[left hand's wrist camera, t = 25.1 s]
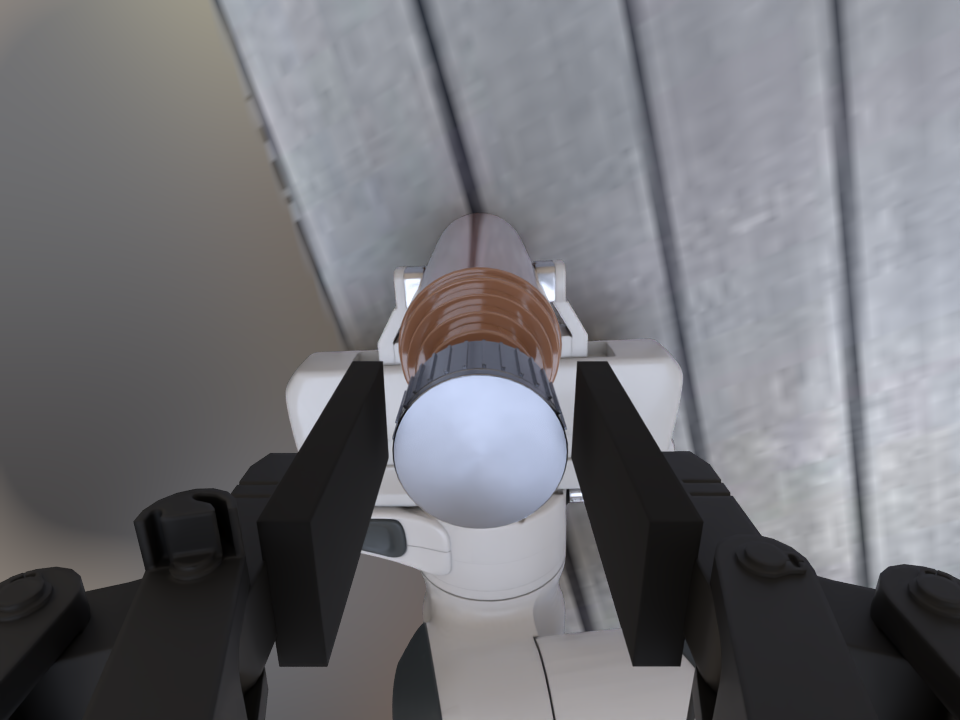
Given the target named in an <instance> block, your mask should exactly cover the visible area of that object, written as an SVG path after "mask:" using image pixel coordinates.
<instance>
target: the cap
mask: <svg viewBox="0 0 960 720" xmlns="http://www.w3.org/2000/svg"><path fill="white" fill-rule="evenodd" d="M395 423H396V427H395V430H394V433H393V437H392V440H393V447H392V453H393V463H394V468H395V471H396V474H397V477H398V480H399V481H400V483H401V485H402V487H403V489H404V490H405V492H406V493H407V494H408V496H409V497H410V498H411V499H412V500H413V501H414V503H415V504H416V505H418V506H419V507H420V508H421V509H422V510H424V511H425V512H427V513H428V514H430V515H431V516H433V517H435V518H437V519H439V520H441V521H443V522H446V523H449V524H451V525H455V526H459V527H464V528H473V529H487V528H496V527H501V526H506V525H509V524H512V523H515V522H517V521H520V520H522V519H524V518H526V517H528V516H529V515H531V514H532V513H534V512H536V511H537V510H538V509H539V508H540V507H542V506H543V505H544V504H545V503H546V502H547V501H548V500H549V499H550V498H551V496H552V495H553V494H554V492H555V491H556V490H557V488H558V486H559V484H560V482H561V480H562V478H563V475H564V473H565V470H566V465H567V461H568V441H567V437H566V432H565V430H567V426H566V423H565V420H564V417H563V414H562V410H561V407H560V404H559V401H558V397H557V395H556V392H555V389H554V385H553V383H552V382H549V380H548V378H547V376H546V372H545V370H544V368H542V369H541V368H540V367H539V366H538V365H537V364H536V363H535V362H534V359H533V357H528V356H527V355H526V354H524V353H522V352H521V351H520V350H519V348H517V347H516V349H515V348H513V347H510V346H508V345H505V344H503V342H499V343H497V342H491V341H486V340H484V339H482V341H470V342H468V340H466V341H464V342H463V343H459V344H455V345H453V346H451V345H448V347H447V348H445V349H443V350H442V351H440V352H438V353H433V354H432V357H431V358H429V359H428V360H427V361H426V362H425V363H424V364H423V363H421V364H420V366H419V370H418V371H417V372H416V374H415V375H414V377H413V376H411V378H410V381H409V384H408V387H407V391H406V390H405V392H404V395H403V398H402V401H401V404H400V408H399V411H398V414H397V417H396V421H395Z"/></svg>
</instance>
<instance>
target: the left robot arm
mask: <svg viewBox="0 0 960 720" xmlns="http://www.w3.org/2000/svg"><path fill="white" fill-rule="evenodd" d="M388 459H389V450H388V434H387V418H386V402H385V386H384V370H383V361H352V363H351V365H350V366H349V368H348V370H347V371H346V373H345V375H344V376H343V378H342V380H341V381H340V383H339V385H338V386H337V388H336V390H335V391H334V393H333V395H332V396H331V398H330V400H329V401H328V403H327V405H326V406H325V408H324V410H323V411H322V413H321V415H320V416H319V418H318V420H317V421H316V423H315V425H314V426H313V428H312V430H311V431H310V433H309V435H308V436H307V438H306V440H305V441H304V443H303V445H302V446H301V448H300V450H299V451H298V453H270V454H268V455H267V456H265V457H264V458H262V459H261V460H259V461H258V462H256V463H255V464H253V465H252V466H251V467H250V468H249V469H248V471H247V472H246V473H245V475H244V476H243V478H242V479H241V480H240V482H239V485H237V486H236V487H235V489H234V490H233V492H232V493H231V494H230V493H229V492H227V491H223V490H218V489H214V488H209V489H193V490H189V491H184V492H180V493H176V494H173V495H171V496H168V497H166V498H163V499H161V500H158V501H157V502H155V503H154V504H152V505H150V506H149V507H147V508H146V509H144V510H143V511H142V512H141V513H140V514H139V516H138V517H137V518H136V519H135V520H134V526H135V530H136V534H137V538H138V542H139V546H140V550H141V554H142V558H143V562H144V566H145V570H146V571H145V573H144V576H143V578H142V579H139V580H136V581H132V582H129V583H124V584H119V585H114V586H110V587H105V588H101V589H96V590H91V591H86V592H85V590H84V586H83V583H82V580H81V576H80V575H79V574H77V573H76V572H75V571H74V570H72V569H68V568H61V567H50V568H42V569H35V570H32V571H27V572H26V573H21V574H18V575H15V576H12V577H10V578H9V579H7V580H5V581H3V582H1V583H0V720H265V715H266V705H267V696H268V684H267V678H266V672H265V664H266V661H267V659H268V657H269V654H270V652H271V649H272V647H273V645H274V642H276V648H277V654H278V661H279V666H280V667H327V666H328V663H329V659H330V656H331V652H332V649H333V646H334V642H335V639H336V635H337V632H338V629H339V625H340V622H341V618H342V615H343V612H344V608H345V605H346V601H347V598H348V595H349V591H350V588H351V584H352V581H353V578H354V574H355V571H356V568H357V564H358V560H359V557H360V554H361V551H362V547H363V544H364V540H365V537H366V534H367V530H368V527H369V523H370V520H371V517H372V513H373V510H374V507H375V503H376V500H377V496H378V493H379V490H380V486H381V483H382V479H383V476H384V473H385V469H386V466H387V462H388ZM571 459H572V462H573V466H574V469H575V473H576V476H577V479H578V483H579V486H580V490H581V493H582V496H583V500H584V503H585V507H586V510H587V513H588V517H589V520H590V523H591V527H592V530H593V534H594V537H595V540H596V544H597V547H598V551H599V554H600V557H601V561H602V564H603V568H604V571H605V574H606V578H607V581H608V585H609V588H610V591H611V595H612V598H613V601H614V605H615V608H616V612H617V615H618V618H619V622H620V625H621V629H622V632H623V635H624V639H625V642H626V646H627V649H628V652H629V656H630V659H631V663H632V666H633V667H681V661H682V654H683V648H684V642H685V639H686V642H687V644H688V647H689V649H690V651H691V654H692V656H693V659H694V661H695V663H696V666H695V672H694V677H693V683H692V689H691V695H690V701H689V707H688V712H687V719H686V720H960V580H959V579H957V578H955V577H953V576H951V575H950V574H947V573H945V572H942V571H939V570H938V571H937V570H935V569H932V568H927V567H923V566H915V565H906V564H903V565H896V566H889V567H888V568H886V569H885V570H884V571H883V572H882V573H880V576H879V579H878V583H877V586H876V589H872V588H867V587H862V586H857V585H853V584H848V583H843V582H839V581H834V580H830V579H826V578H823V577H819V576H817V575H816V572H815V570H814V569H813V567H812V566H811V565H810V563H809V562H808V560H807V559H806V558H805V557H804V556H802V555H801V554H800V553H798V552H797V551H796V550H794V549H793V548H792V547H790V546H788V545H786V544H783V543H781V542H779V541H777V540H775V539H772V538H768V537H764V536H761V534H760V533H759V532H758V530H757V529H756V527H755V526H754V525H753V523H752V522H751V521H750V519H749V518H748V516H747V515H746V514H745V512H744V511H743V510H742V508H741V507H740V505H739V504H738V503H737V501H736V500H735V499H734V497H733V496H730V492H729V490H728V489H727V488H726V486H725V485H724V483H721V479H720V478H719V477H718V475H717V474H716V472H715V471H714V470H713V468H712V467H711V466H710V464H708V463H707V462H705V461H704V460H702V459H701V458H699V457H698V456H696V455H695V454H693V453H692V452H690V451H661V450H660V448H659V446H658V445H657V443H656V441H655V440H654V438H653V436H652V435H651V433H650V431H649V430H648V428H647V426H646V425H645V423H644V421H643V420H642V418H641V416H640V415H639V413H638V411H637V410H636V408H635V406H634V405H633V403H632V401H631V400H630V398H629V396H628V395H627V393H626V391H625V390H624V388H623V386H622V385H621V383H620V381H619V380H618V378H617V376H616V375H615V373H614V371H613V370H612V368H611V366H610V365H609V363H608V361H577V370H576V386H575V402H574V418H573V434H572V450H571Z"/></svg>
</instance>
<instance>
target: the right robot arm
mask: <svg viewBox="0 0 960 720" xmlns="http://www.w3.org/2000/svg"><path fill="white" fill-rule="evenodd" d="M533 266H534V268H535V270H536V273H537V275H538V277H539V279H540V281H541V284H542V286H543V288H544V290H545V292H546V295H547V297H548V299H549V301H550V302H552V303H553V304H554V306H555V308H556V309H557V311H558V313H559V314H560V316H561V318H562V319H563V321H564V323H565V324H566V325H565V324H559V326H560V330H561V336H562V352H561V359H560V364H559V368H558V372H557V375H556V378H555V381H554V383H553V385H554V389H555V392H556V395H557V397H558V401H559V404H560V407H561V410H562V414H563V417H564V420H565V423H566V426H567V430H565V432H566V437H567V441H568V461H567V465H566V470H565V473H564V475H563V478H562V480H561V482H560V484H559V486H558V488H557V490H556V491H555V492H554V494H553V495H552V496H551V498H550V499H549V500H548V501H547V502H546V503H545V504H544V505H543V506H542V507H540V508H539V509H538V510H537V511H536V512H534V513H532V514H531V515H529V516H528V517H526V518H524V519H522V520H520V521H517V522H515V523H512V524H509V525H506V526H501V527H496V528H487V529H473V528H464V527H459V526H455V525H451V524H449V523H446V522H443V521H441V520H439V519H437V518H435V517H433V516H431V515H430V514H428V513H427V512H425V511H424V510H422V509H421V508H420V507H419V506H418V505H416V504H415V503H414V501H413V500H412V499H411V498H410V497H409V496H408V494H407V493H406V492H405V490H404V489H403V487H402V485H401V483H400V481H399V480H398V477H397V474H396V471H395V468H394V463H393V453H392V447H393V440H392V437H393V433H394V430H395V427H396V423H395V421H396V417H397V414H398V411H399V408H400V404H401V401H402V398H403V395H404V392H405V390H406V391H407V387H408V384H407V382H406V380H405V377H404V374H403V371H402V367H401V363H400V357H399V349H398V340H399V329H400V327H401V323H402V320H403V318H404V315H405V313H406V311H407V308H408V306H409V304H410V302H411V299H412V297H413V295H414V293H415V291H416V288H417V286H418V284H419V282H420V280H421V277H422V275H423V273H424V271H425V269H426V266H409V267H406V266H405V267H397V268H396V269H395V271H394V289H395V299H396V306H395V308H394V310H393V312H392V314H391V316H390V318H389V320H388V322H387V324H386V326H385V328H384V331H383V333H382V335H381V337H380V339H379V341H378V350H358V351H334V352H316V353H313V354H311V355H309V356H308V357H307V358H306V359H305V360H304V361H303V362H302V363H301V365H300V366H299V367H298V368H297V369H296V371H295V372H294V373H293V375H292V376H291V378H290V380H289V382H288V384H287V387H286V404H287V410H288V415H289V420H290V424H291V429H292V433H293V436H294V440H295V444H296V447H297V451H299V450H300V448H301V446H302V445H303V443H304V441H305V440H306V438H307V436H308V435H309V433H310V431H311V430H312V428H313V426H314V425H315V423H316V421H317V420H318V418H319V416H320V415H321V413H322V411H323V410H324V408H325V406H326V405H327V403H328V401H329V400H330V398H331V396H332V395H333V393H334V391H335V390H336V388H337V386H338V385H339V383H340V381H341V380H342V378H343V376H344V375H345V373H346V371H347V370H348V368H349V366H350V365H351V363H352V361H383V370H384V386H385V402H386V418H387V434H388V450H389V459H388V462H387V466H386V469H385V473H384V476H383V479H382V483H381V486H380V490H379V493H378V496H377V500H376V503H375V507H374V510H373V513H372V517H371V520H370V523H369V527H368V530H367V534H366V537H365V540H364V544H363V547H362V551H361V553H363V554H367V555H371V556H375V557H380V558H383V559H387V560H391V561H394V562H398V563H401V564H404V565H407V566H410V567H413V568H416V569H418V570H420V572H421V574H422V576H423V579H424V581H425V583H426V587H427V588H426V593H425V597H424V602H423V624H422V625H421V626H420V627H419V628H418V630H417V631H416V633H415V634H414V636H413V637H412V639H411V640H410V642H409V644H408V646H407V648H406V649H405V651H404V653H403V655H402V657H401V659H400V660H399V662H398V665H397V669H396V674H395V679H394V687H393V704H392V708H393V720H686V719H687V712H688V707H689V701H690V695H691V689H692V683H693V677H694V672H695V666H696V663H695V661H694V659H693V656H692V654H691V651H690V649H689V647H688V644H687V642H686V639H685V642H684V648H683V654H682V661H681V667H633V666H632V663H631V659H630V656H629V652H628V649H627V646H626V642H625V639H624V635H623V632H622V629H621V628H617V629H607V630H598V631H589V632H580V633H570V634H565V603H564V597H563V594H562V591H561V588H560V585H559V579H560V576H561V574H562V571H563V568H564V564H565V557H566V504H568V503H578V502H584V500H583V496H582V493H581V490H580V486H579V483H578V479H577V476H576V473H575V469H574V466H573V462H572V459H571V450H572V434H573V418H574V402H575V386H576V370H577V361H608V363H609V365H610V366H611V368H612V370H613V371H614V373H615V375H616V376H617V378H618V380H619V381H620V383H621V385H622V386H623V388H624V390H625V391H626V393H627V395H628V396H629V398H630V400H631V401H632V403H633V405H634V406H635V408H636V410H637V411H638V413H639V415H640V416H641V418H642V420H643V421H644V423H645V425H646V426H647V428H648V430H649V431H650V433H651V435H652V436H653V438H654V440H655V441H656V443H657V445H658V446H659V448H660V450H661V451H674V450H675V447H674V441H673V439H672V435H673V432H674V428H675V424H676V419H677V415H678V410H679V404H680V398H681V392H682V384H683V373H682V370H681V368H680V366H679V364H678V363H677V361H676V360H675V359H674V357H673V356H672V355H671V354H670V353H669V352H668V351H667V350H666V349H665V348H664V347H663V346H662V345H661V344H659V343H658V342H657V341H655V340H653V339H627V340H602V341H588V334H587V332H586V331H585V329H584V327H583V325H582V324H581V322H580V320H579V318H578V317H577V315H576V313H575V312H574V310H573V308H572V307H571V305H570V303H569V302H568V300H567V298H566V268H565V263H564V262H563V261H562V260H547V261H533Z"/></svg>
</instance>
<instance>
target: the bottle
mask: <svg viewBox="0 0 960 720" xmlns="http://www.w3.org/2000/svg"><path fill="white" fill-rule="evenodd" d="M482 339H484V340H486V341H491V342H497V343H499V342H503V344H505V345H508V346H510V347H513V348H515V349H516V347H517V348H519V350H520V351H521V352H522V353H524V354H526V355H527V356H528V357H533V359H534V362H535V363H536V364H537V365H538V366H539V367H540V368H541V369H542V368H544V370H545V372H546V376H547V378H548V380H549V382H552V383H554V381H555V378H556V375H557V372H558V368H559V364H560V359H561V352H562V336H561V330H560V326H559V322H558V320H557V317H556V314H555V312H554V310H553V308H552V305H551V303H550V301H549V299H548V297H547V295H546V292H545V290H544V288H543V286H542V284H541V281H540V279H539V277H538V275H537V273H536V270H535V268H534V266H533V264H532V262H531V259H530V257H529V255H528V253H527V251H526V249H525V246H524V244H523V242H522V240H521V238H520V236H519V234H518V233H517V231H516V230H515V229H514V228H513V227H512V225H510V224H509V223H508V222H507V221H505V220H504V219H502V218H500V217H498V216H495V215H492V214H488V213H472V214H468V215H465V216H462V217H460V218H458V219H456V220H455V221H453V222H452V223H451V224H450V225H449V226H448V227H447V228H446V229H445V230H444V231H443V233H442V234H441V236H440V238H439V240H438V242H437V244H436V247H435V249H434V251H433V253H432V255H431V258H430V260H429V262H428V264H427V266H426V269H425V271H424V273H423V275H422V277H421V280H420V282H419V284H418V286H417V288H416V291H415V293H414V295H413V297H412V299H411V302H410V304H409V306H408V308H407V311H406V313H405V315H404V318H403V320H402V323H401V327H400V331H399V340H398V349H399V357H400V363H401V367H402V371H403V374H404V377H405V380H406V382H407V384H409V381H410V378H411V376H413V377H414V375H415V374H416V372H417V371H418V370H419V366H420V364H421V363H423V364H424V363H425V362H426V361H427V360H428V359H429V358H431V357H432V354H433V353H438V352H440V351H442V350H443V349H445V348H447V347H448V345H451V346H453V345H455V344H459V343H463V342H464V341H466V340H468V342H470V341H482Z"/></svg>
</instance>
